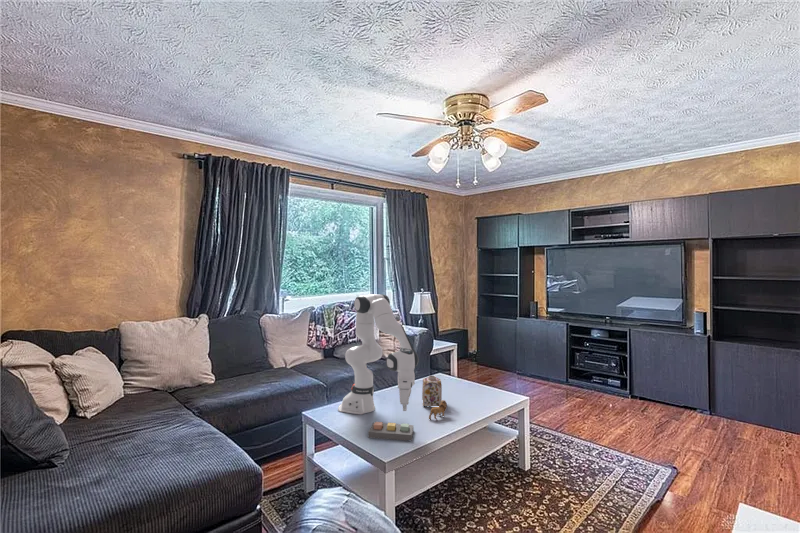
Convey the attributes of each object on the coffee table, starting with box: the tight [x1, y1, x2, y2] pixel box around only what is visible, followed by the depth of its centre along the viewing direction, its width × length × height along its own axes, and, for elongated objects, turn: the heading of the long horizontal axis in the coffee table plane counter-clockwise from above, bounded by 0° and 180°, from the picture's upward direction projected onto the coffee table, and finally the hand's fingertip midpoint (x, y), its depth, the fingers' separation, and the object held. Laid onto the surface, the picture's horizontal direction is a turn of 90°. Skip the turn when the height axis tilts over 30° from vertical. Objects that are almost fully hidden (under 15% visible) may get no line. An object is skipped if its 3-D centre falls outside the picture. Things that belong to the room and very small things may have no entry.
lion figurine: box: [428, 399, 448, 421], centre depth 227 cm, size 15×5×9 cm, turn 138°
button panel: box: [367, 422, 414, 441], centre depth 204 cm, size 22×12×3 cm, turn 83°
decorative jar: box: [421, 375, 443, 407], centre depth 249 cm, size 12×12×18 cm
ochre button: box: [387, 422, 397, 431], centre depth 204 cm, size 4×4×4 cm
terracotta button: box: [373, 421, 384, 430], centre depth 205 cm, size 4×4×4 cm
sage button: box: [400, 422, 410, 432], centre depth 203 cm, size 4×4×4 cm
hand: (405, 407), depth 203 cm, fingers open, 8 cm apart
